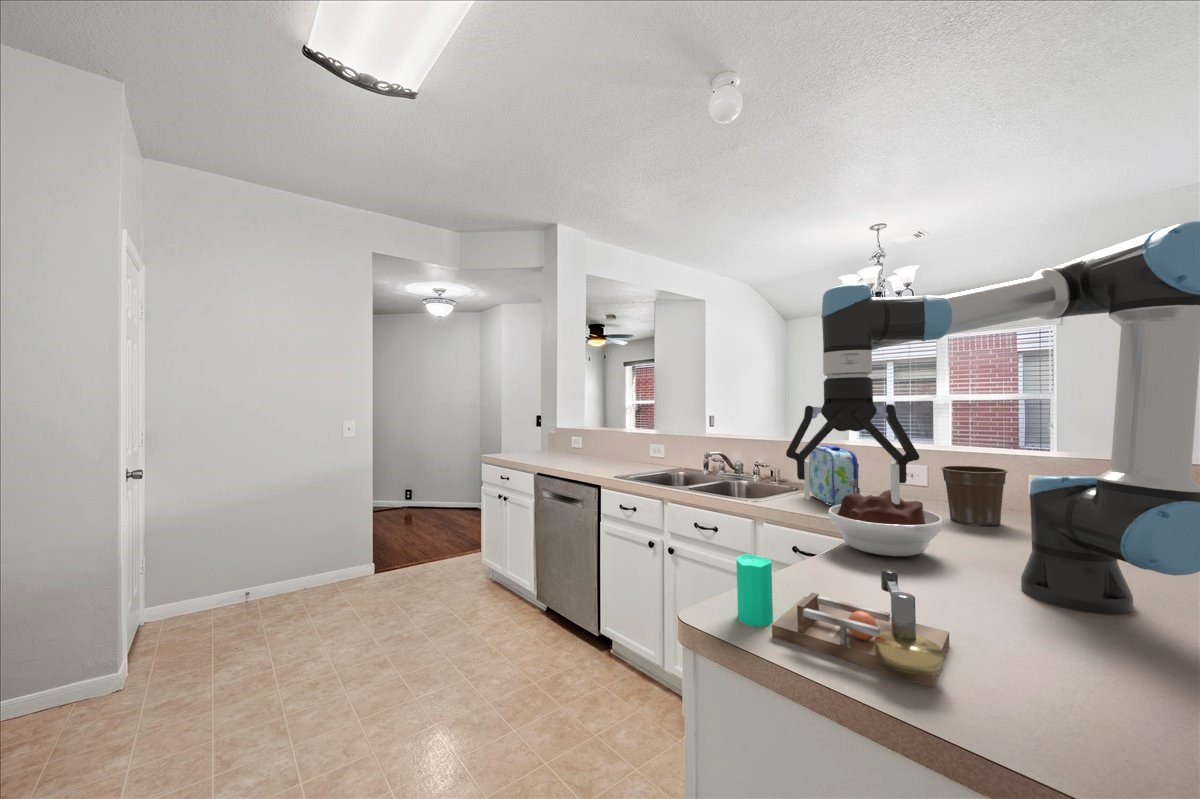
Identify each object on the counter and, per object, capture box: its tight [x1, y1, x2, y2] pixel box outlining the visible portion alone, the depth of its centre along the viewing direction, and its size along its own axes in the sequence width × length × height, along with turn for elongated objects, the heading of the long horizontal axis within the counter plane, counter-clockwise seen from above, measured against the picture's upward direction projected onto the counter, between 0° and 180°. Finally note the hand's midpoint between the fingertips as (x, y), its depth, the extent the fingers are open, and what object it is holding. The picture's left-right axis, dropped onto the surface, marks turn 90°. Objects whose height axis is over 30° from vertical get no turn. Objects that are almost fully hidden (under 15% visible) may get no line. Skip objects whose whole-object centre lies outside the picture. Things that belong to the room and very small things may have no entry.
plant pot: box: [940, 465, 1009, 527], centre depth 148 cm, size 16×16×16 cm
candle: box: [735, 550, 774, 627], centre depth 86 cm, size 6×6×12 cm
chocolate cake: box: [827, 489, 945, 557], centre depth 122 cm, size 25×25×15 cm
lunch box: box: [809, 444, 861, 506], centre depth 180 cm, size 26×11×21 cm, turn 174°
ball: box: [848, 611, 877, 640], centre depth 74 cm, size 4×4×4 cm
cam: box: [875, 569, 945, 676], centre depth 73 cm, size 10×19×8 cm, turn 137°
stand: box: [771, 591, 950, 689], centre depth 78 cm, size 22×15×6 cm
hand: (850, 500), depth 84 cm, fingers open, 13 cm apart
